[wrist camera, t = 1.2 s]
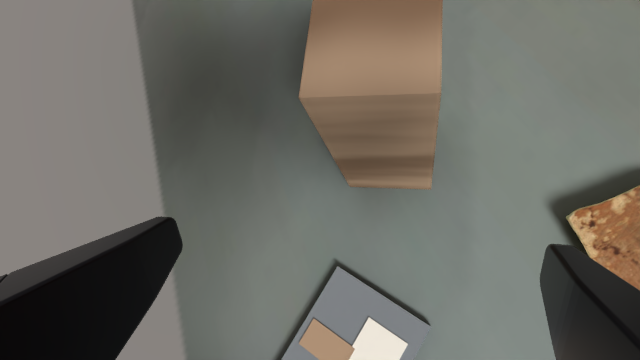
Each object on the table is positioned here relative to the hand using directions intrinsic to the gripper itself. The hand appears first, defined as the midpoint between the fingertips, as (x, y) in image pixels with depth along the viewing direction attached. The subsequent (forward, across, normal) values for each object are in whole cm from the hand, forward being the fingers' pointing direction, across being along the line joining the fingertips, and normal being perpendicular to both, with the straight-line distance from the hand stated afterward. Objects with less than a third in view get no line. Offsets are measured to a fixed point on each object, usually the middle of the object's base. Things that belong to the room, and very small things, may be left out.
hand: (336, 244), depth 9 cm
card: (+6, +2, +13) cm, 14 cm away
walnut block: (+15, 0, +4) cm, 16 cm away
